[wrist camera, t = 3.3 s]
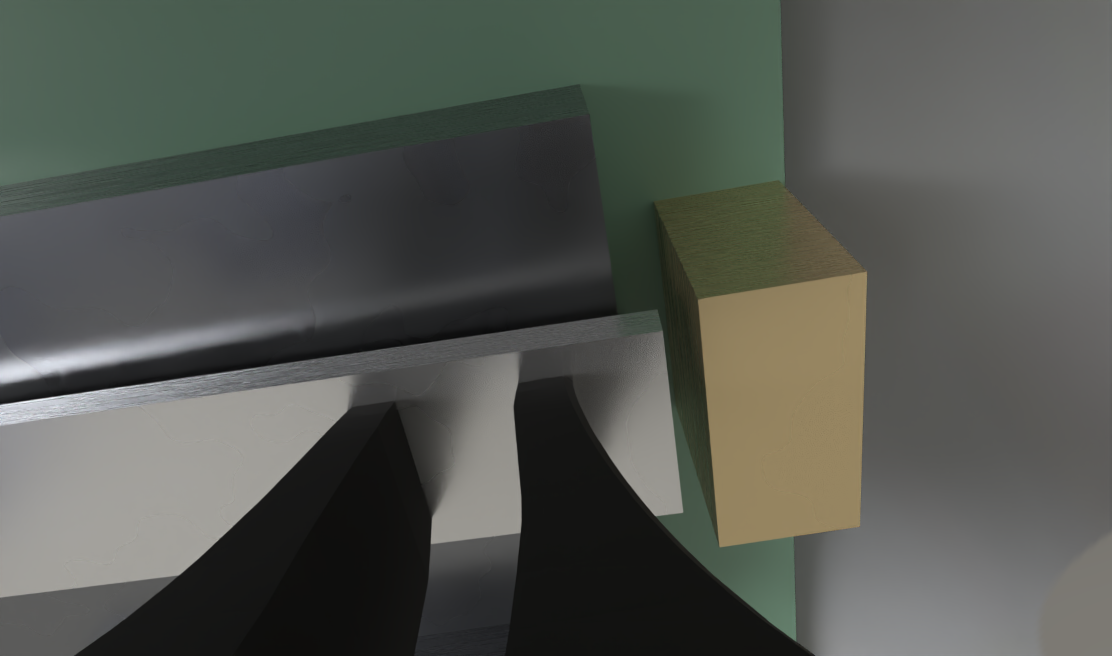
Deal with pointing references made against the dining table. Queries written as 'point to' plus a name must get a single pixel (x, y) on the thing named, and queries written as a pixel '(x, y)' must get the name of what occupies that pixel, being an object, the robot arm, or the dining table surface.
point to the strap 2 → (310, 445)
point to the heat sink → (434, 310)
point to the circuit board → (421, 85)
